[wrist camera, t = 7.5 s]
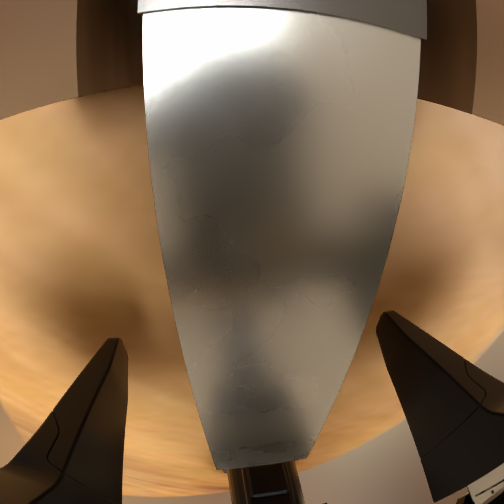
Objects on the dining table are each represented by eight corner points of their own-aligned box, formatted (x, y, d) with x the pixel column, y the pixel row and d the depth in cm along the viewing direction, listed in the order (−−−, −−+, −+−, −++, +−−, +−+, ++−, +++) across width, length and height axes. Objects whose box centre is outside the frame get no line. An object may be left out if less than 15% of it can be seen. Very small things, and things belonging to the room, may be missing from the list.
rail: (285, 374, 15) (307, 459, 11) (207, 382, 15) (215, 471, 11) (317, 14, 7) (424, -23, 3) (175, 10, 6) (142, -59, 2)
